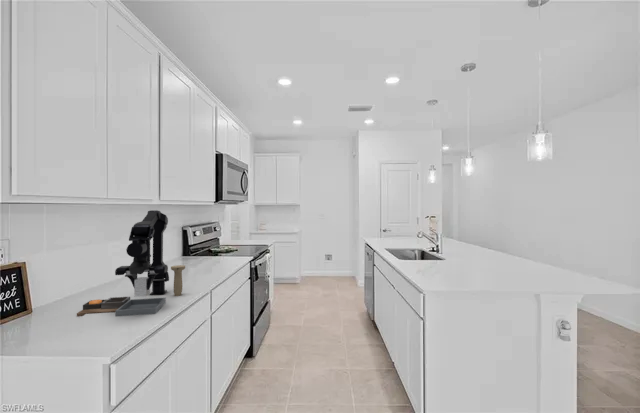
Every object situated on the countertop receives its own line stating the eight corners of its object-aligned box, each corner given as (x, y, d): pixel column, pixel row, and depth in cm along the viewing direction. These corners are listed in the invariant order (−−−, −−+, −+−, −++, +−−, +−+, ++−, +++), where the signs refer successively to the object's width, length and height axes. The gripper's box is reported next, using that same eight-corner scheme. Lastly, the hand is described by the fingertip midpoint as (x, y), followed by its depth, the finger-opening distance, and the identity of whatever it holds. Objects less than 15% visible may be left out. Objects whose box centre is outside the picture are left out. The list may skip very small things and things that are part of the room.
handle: (171, 295, 150) (171, 265, 150) (185, 294, 153) (185, 265, 153) (170, 298, 146) (170, 267, 146) (184, 297, 148) (184, 266, 148)
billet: (138, 293, 130) (138, 277, 130) (149, 293, 131) (149, 276, 131) (134, 296, 126) (134, 279, 126) (146, 296, 127) (146, 279, 127)
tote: (129, 306, 134) (129, 299, 134) (165, 304, 138) (165, 297, 138) (115, 318, 120) (115, 310, 120) (155, 315, 123) (155, 308, 123)
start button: (92, 305, 132) (92, 299, 132) (103, 304, 133) (103, 299, 133) (86, 308, 127) (86, 303, 127) (98, 308, 128) (98, 302, 128)
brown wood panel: (95, 304, 137) (95, 296, 137) (133, 302, 140) (133, 294, 140) (76, 316, 122) (76, 307, 122) (120, 313, 125) (120, 304, 125)
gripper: (109, 257, 119) (108, 296, 119) (160, 255, 123) (160, 294, 123) (121, 252, 130) (120, 289, 130) (168, 251, 134) (168, 286, 134)
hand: (142, 289), depth 129 cm, fingers closed on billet, 4 cm apart
